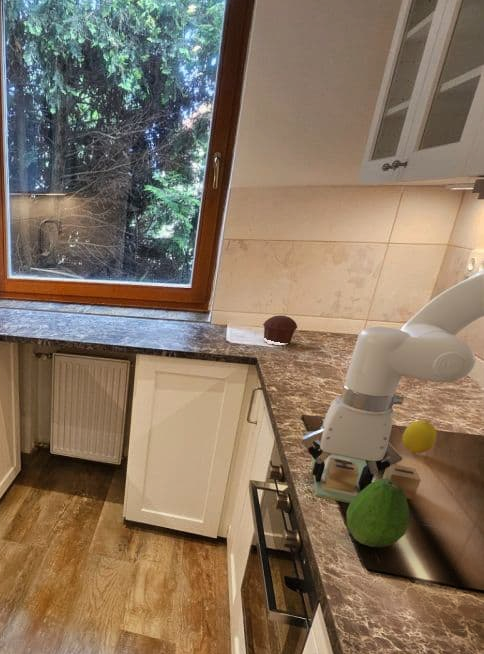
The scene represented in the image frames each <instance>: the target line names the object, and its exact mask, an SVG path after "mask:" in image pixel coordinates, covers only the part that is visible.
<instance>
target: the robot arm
mask: <svg viewBox="0 0 484 654" xmlns="http://www.w3.org/2000/svg"><path fill="white" fill-rule="evenodd" d="M483 317H484V269H482V270H480V271H478V272H476V273H475V274H472V275H471V276H469V277H467V278H465V279H463V280H462V281H460V282H459V283H457V284H455V285H453V286H451V287H449V288H448V289H446V290H444V291H442V292H441V293H439V294H438V295H437V296H435V297H434V298H432V299H431V300H430V301H429V302H428V303H426V304H425V305H424V306H422V308H420V310H418V311H417V312H416V313H415V314H414V315H413V316H412V317H411V318H409V320H408V321H407V322H405V323H404V325H403V326H402V327H401V328H400V329H397V328H393V327H386V326H370V327H366V328H364V329H362V330H361V331H359V334H358V335H357V338H356V341H355V345H354V349H353V352H352V356H351V359H350V362H349V366H348V369H347V372H346V376H345V379H344V383H343V386H342V390H341V394H340V397H338V396H337V397H335V398H334V399H333V400H332V402H331V404H330V406H329V408H328V410H327V415H325V416H324V418H325V420H324V421H323V422H322V425H321V426H322V428H320V429H318V430H315V431H316V432H313V433H311V434H309V435H306V434H305V435H303V436H302V437H301V443H302V444H303V446H304V447H305V448H306V450H307V451H308V453H309V454H310V455H312V456H311V458H312V457H313V458H314V459H315V463H314V467H313V466H312V471H311V474H312V476H314V475H315V480H316V482H320V481H321V477H322V474H323V471H324V467H325V463H324V460H326V459H327V458H328V457H329V456H330V455H331V454H334V455H340V456H345V457H350V458H355V459H361V460H365V461H366V464H367V466H365V467H363V470H362V473H361V476H360V479H359V482H358V484H359V488H360V490H361V491H362V490H363V489H364V488H366V487H367V486H368V485H369V484H370V483H372V482H373V479H374V477H375V475H377V474H379V472H381V471H384V470H385V469H386V468H388V467H390V465H393V464H394V465H396V464H397V463H400V462H401V461H403V457H402V455H401V453H400V452H399V450H397V448H396V447H394V446H393V444H392V443H390V438H391V433H392V427H393V422H394V408H393V406H394V405H402V404H403V403H404V399H405V397H403V396H399V395H397V394H396V392H397V389H398V386H399V383H400V380H401V378H402V377H408V378H413V379H417V380H421V381H425V382H431V383H442V384H443V383H451V382H452V383H453V382H455V381H458V380H460V379H463V378H465V377H466V376H467V375H469V374H470V372H472V370H473V369H474V367H475V364H476V354H475V351H474V350H473V348H472V347H471V345H469V344H468V342H466V341H465V340H462V339H461V338H459V337H457V336H456V335H457V334H458V333H459V332H461V331H463V330H464V328H466V327H467V326H469V325H471V324H472V323H473V322H475V321H477V320H479V319H480V318H483ZM316 440H319V441H321V442H320V443H321V444H320V445H319V448H317V446H315V444H314V443H315V441H316ZM386 453H387V455H388V456H386V457H385V455H386Z"/></svg>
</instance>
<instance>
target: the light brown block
mask: <svg viewBox="0 0 484 654" xmlns="http://www.w3.org/2000/svg"><path fill="white" fill-rule="evenodd" d="M358 475H359V471H358V467H357V463H356V462H354V461H349V460H343V459H338V458H333V457H330V458H329V462H328V465H327V468H326V472H325V475H324V478H325V485H326V487H327V488H332V489H337V490H341V491H346V492H351V493H353V490H354V487H355V484H356V481H357V478H358Z"/></svg>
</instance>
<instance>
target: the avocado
mask: <svg viewBox="0 0 484 654" xmlns="http://www.w3.org/2000/svg"><path fill="white" fill-rule="evenodd" d="M409 525H410V509H409V502H408V499H407V498H406V496H405V493H404V491H403V490H402V488H401V487H400V486H399V485H398V484H397V483H395V482H393V481H391V480H389V479H387V478H386V479H382V478H377V479H375V480H374V481H373V480H372V483H370V484H369V485H368V486H367V487H366V488H364V489H363V490H362V491H361V492H360V493H358V494H357V496H356V497H355V498H354V499H353V500H352V501H351V502H350V503H348V506H347V509H346V527H347V529H348V531H349V533H350V535H351V536H352V537H353V539H354V540H355V541H356V542H357V543H359V544H362V545H364V546H367V547H370V548H384V547H389V546H392V545H394V544H395V543H397V542H398V541H399V540H400V539H402V538H403V536H404V535H406V533H407V530H408V528H409Z"/></svg>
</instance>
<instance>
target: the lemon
mask: <svg viewBox="0 0 484 654" xmlns="http://www.w3.org/2000/svg"><path fill="white" fill-rule="evenodd" d="M437 432H438V431H437V429H436V427H435V426H434V424H432V423H430V422H429V421H428V420H426V419H425V420H418V421H414V422H412V423H410V424H409V425H407V427H406V428H405V430H404V432H403V433H402V437H401V438H402V444H403V446H404V447H405V449H407V450H408V451H409V452H410V453H411V454H412V455H415V454H421V453H426V452H428V451H430V450H431V449H432V448H433V447H434V446H435V444H436V442H437V436H438V435H437V434H438V433H437Z"/></svg>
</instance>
